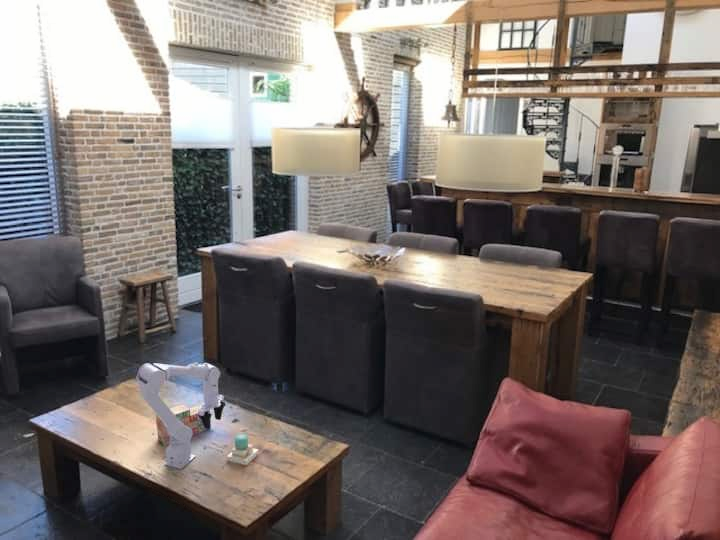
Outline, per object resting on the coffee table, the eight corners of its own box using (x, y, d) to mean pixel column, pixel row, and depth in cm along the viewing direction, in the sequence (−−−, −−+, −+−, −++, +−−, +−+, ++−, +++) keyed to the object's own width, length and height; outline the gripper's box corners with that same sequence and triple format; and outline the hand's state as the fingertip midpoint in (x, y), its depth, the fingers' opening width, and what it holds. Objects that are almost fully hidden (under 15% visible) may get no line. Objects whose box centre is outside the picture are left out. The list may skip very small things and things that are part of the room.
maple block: (244, 458, 234) (244, 452, 233) (231, 454, 236) (231, 449, 236) (253, 450, 239) (253, 445, 238) (240, 447, 241) (240, 441, 241)
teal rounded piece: (244, 451, 234) (243, 441, 233) (232, 448, 236) (232, 439, 235) (250, 444, 239) (249, 435, 238) (239, 442, 240) (238, 433, 239)
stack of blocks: (204, 422, 264) (202, 397, 261) (211, 428, 259) (209, 402, 256) (157, 439, 250) (155, 413, 247) (164, 445, 246) (162, 418, 242)
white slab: (246, 466, 233) (246, 461, 232) (227, 461, 236) (226, 456, 235) (258, 454, 241) (258, 449, 240) (239, 450, 244) (239, 444, 243)
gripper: (208, 402, 232) (210, 434, 236) (229, 387, 245) (231, 417, 249) (193, 399, 235) (195, 430, 238) (215, 384, 248) (216, 414, 251)
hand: (212, 423), depth 244 cm, fingers open, 7 cm apart
